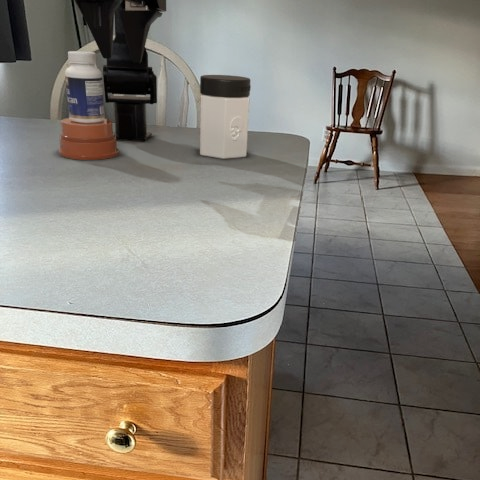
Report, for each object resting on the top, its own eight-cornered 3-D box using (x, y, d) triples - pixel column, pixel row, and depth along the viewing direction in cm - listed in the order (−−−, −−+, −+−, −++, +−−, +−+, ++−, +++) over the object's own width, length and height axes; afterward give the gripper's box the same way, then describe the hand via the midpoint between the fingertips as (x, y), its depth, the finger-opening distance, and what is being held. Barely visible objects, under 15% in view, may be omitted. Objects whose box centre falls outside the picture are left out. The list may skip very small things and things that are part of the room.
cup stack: (71, 145, 92) (68, 114, 90) (125, 149, 92) (124, 118, 89) (49, 157, 84) (45, 123, 81) (109, 161, 83) (107, 128, 81)
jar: (212, 160, 88) (214, 80, 82) (188, 150, 93) (188, 74, 88) (257, 156, 92) (262, 80, 86) (232, 147, 98) (235, 74, 92)
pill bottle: (62, 119, 85) (55, 50, 80) (91, 117, 89) (86, 50, 84) (82, 125, 82) (76, 53, 77) (111, 121, 86) (107, 53, 81)
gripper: (143, -98, 61) (147, 57, 67) (199, -54, 77) (198, 66, 83) (56, -93, 63) (67, 55, 69) (128, -53, 80) (132, 64, 86)
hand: (123, 60), depth 77 cm, fingers open, 9 cm apart
